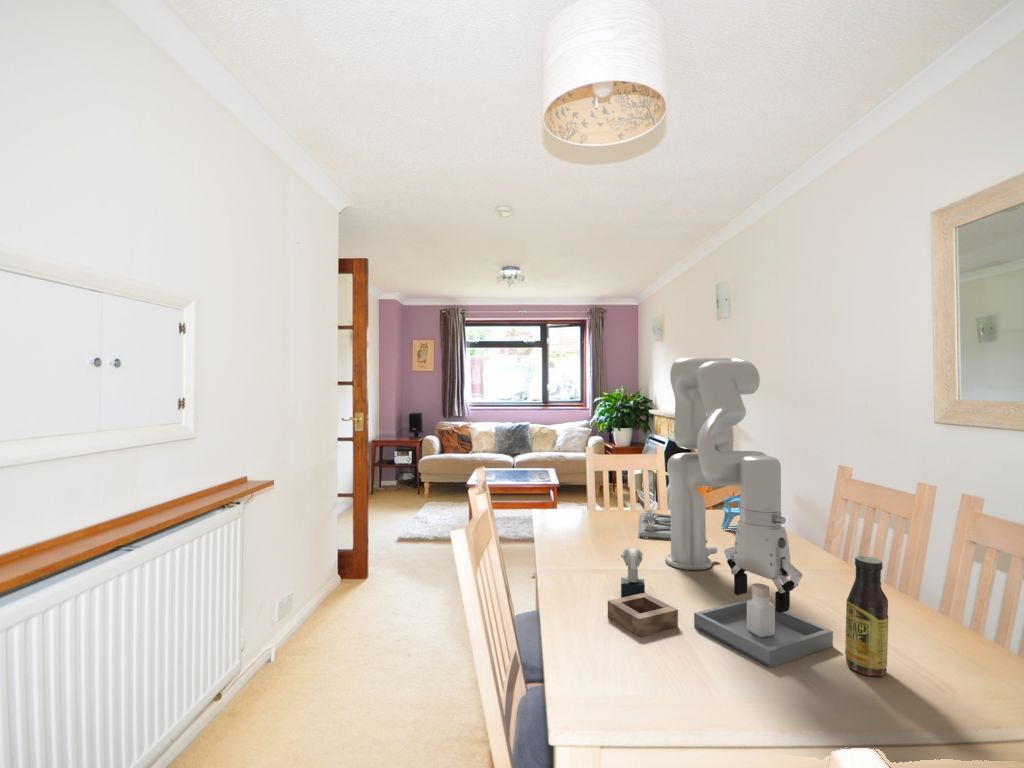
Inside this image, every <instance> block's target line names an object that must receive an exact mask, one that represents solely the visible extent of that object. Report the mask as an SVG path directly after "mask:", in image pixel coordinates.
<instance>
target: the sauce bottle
mask: <svg viewBox="0 0 1024 768" xmlns="http://www.w3.org/2000/svg"><path fill="white" fill-rule="evenodd" d="M854 566H855V577H854V582H853V584H852V587H851V589H850V592H849V593H848V596H847V598H846V610H845V615H846V616H845V640H844V641H845V643H844V645H845V648H844V653H845V661H846V664H847V666H848V668H850V670H853V671H855V672H857V673H859V674H861V675H862V676H870V677H883V676H884V675H885V674H886V673H887V667H888V643H889V642H888V641H889V636H888V635H889V615H888V614H889V613H888V612H889V610H888V609H889V600H888V597H887V596H886V594H885V593H884V590H883V589H882V581H881V579H882V570H883V561H882V560H881V559H878V558H877V557H873V556H868V555H856V556H855V557H854Z"/></svg>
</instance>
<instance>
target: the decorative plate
mask: <svg viewBox="0 0 1024 768" xmlns="http://www.w3.org/2000/svg"><path fill="white" fill-rule="evenodd" d="M644 511H645V512H642V513H641V514H639V516H638V517H639V519H638V536H639V537H640V538H641V537H648V538H647V539H650V538H660V539H659V540H665V539H671V514H662V513H661V514H660V513H656V511H655V510H654V509H653V508H650V507H649V508H648V509H647V510H644Z"/></svg>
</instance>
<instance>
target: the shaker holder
mask: <svg viewBox="0 0 1024 768" xmlns="http://www.w3.org/2000/svg"><path fill="white" fill-rule="evenodd" d="M607 618H609V619H610V620H612V621H614V623H615V622H616V623H617V624H619V626H622V627H623V628H624V629H626V630H628V631H629V632H631V633H633V634H634V635H636V636H638V637H642V636H643V637H644V636H647V635H651V634H654V633H657V632H662V631H666V630H669V629H670V630H671V629H672V628H673V629H674V628H676V627H678V626H679V622H678V621H679V609H677V608H676V607H673V606H671V604H670V605H669V604H668V603H666V602H664V601H662V600H660V599H658V598H657V597H654V596H652V595H650V594H649V593H646V592H645V593H641V594H636V595H631V596H627V597H618V598H614V599H610V600H607ZM646 634H647V635H646Z"/></svg>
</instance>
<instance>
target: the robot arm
mask: <svg viewBox="0 0 1024 768" xmlns="http://www.w3.org/2000/svg"><path fill="white" fill-rule="evenodd" d="M669 373H670V374H669V375H670V376H669V377H670V378H669V379H670V384H671V388H672V391H673V396H674V403H675V406H674V427H673V428H674V429H673V431H674V432H673V433H674V434H673V436H674V443H675V444H676V446H677V447H678V448H680V449H681V448H682V449H685V450H696V452H680V453H675V454H673V455H671V456H670V457H669V459H668V460H667V463H666V470H667V475H668V483H669V491H670V492H669V493H670V494H669V495H670V515H671V540H670V553H668V554H666V555H665V557H664V561H665V563H666V564H667V565H668V566H671V567H674V568H677V569H681V570H682V569H683V570H686V571H687V570H689V571H702V570H706V569H710V568H711V567H712V560H711V559H710V558H709V557H710V555H716V554H718V548H717V547H716V546H711V547H710V546H709V547H708V546H706V545H707V543H706V542H707V541H706V540H707V537H706V529H707V528H706V525H707V524H706V520H707V519H706V501H705V499H704V496H703V495H701V493H700V492H699V491H698V490H697V488H698V487H699V488H700V487H724V486H725V487H726V486H728V487H729V486H731V487H732V486H735V487H736V486H738V487H739V496H740V515H739V516H740V518H739V520H738V521H737V524H736V525H737V528H736V529H737V530H736V532H735V538H734V546H731V547H729V548H725V549H724V550H723V552H724V555H725V558H726V562H727V564H728V567H729V568H730V573H731V574H732V575H733V588H734V590H733V593H734V595H736V596H740V595H744V594H747V593H748V575H747V573H746V572H748V573H751V574H753V575H757V576H760V577H762V578H766V579H768V580H771V581H772V583H773V584H774V585H775V587H776V589H777V591H775V594H774V595H775V598H774V602H775V603H774V604H775V605H774V606H775V610H776V612H778V613H782V612H785V611H786V612H789V611H790V606H791V605H790V604H791V603H790V602H791V599H790V598H791V594H790V593H791V592H792V591H793V590H794V589H795V588H796V587H798V586H799V583H800V581H801V580H802V578H803V573H802V571H800V570H799V569H797V568H796V567H795V566H794V565H793V564H792V563H791V554H790V553H791V551H790V545H789V539H788V534H787V530H786V527H784V526H782V525H785V523H786V518H785V517H784V516H782V465H781V464H782V463H781V462H780V460H779V459H778V458H776V457H773V456H770V455H769V456H768V454H766V453H765V452H762V451H759V450H758V451H757V450H734V441H735V440H734V438H735V437H734V436H735V434H734V428H733V427H734V426H736V425H738V424H740V423H741V422H742V421H743V420H744V419H745V417H746V416H747V415H746V413H747V411H746V407H745V403H744V401H743V398H742V396H741V395H749V396H750V395H753V394H754V393H756V392H757V391H758V390H759V387H760V383H761V379H760V378H761V377H760V373H759V370H758V368H757V367H756V366H755V364H754V363H752V362H751V361H749V360H744V359H739V358H735V357H734V358H733V357H706V356H705V357H703V356H702V357H699V356H698V357H695V356H694V357H684V358H683V357H682V358H679V359H677V360H675V361H674V362H673V363H672V365H671V368H670V371H669ZM788 577H790V578H788Z"/></svg>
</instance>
